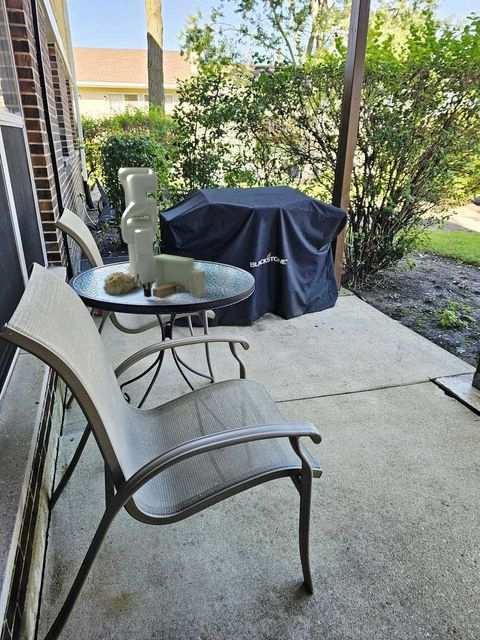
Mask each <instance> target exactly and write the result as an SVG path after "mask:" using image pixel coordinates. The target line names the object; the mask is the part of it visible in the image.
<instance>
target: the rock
mask: <svg viewBox="0 0 480 640" xmlns="http://www.w3.org/2000/svg"><path fill="white" fill-rule="evenodd" d="M135 287H139V286H138V283H136V282H135V276H131V275H128V273H127V274H126V273H124V272H122V271H120V272H118V271H117V272H112V273H110V274H108V275H106V277H105V278H104V286H103V290H104V292H105V293H107V295H120V294H124V293H125V294H126V293H128V292H130V291H131V290H133V289H134V288H135Z"/></svg>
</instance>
